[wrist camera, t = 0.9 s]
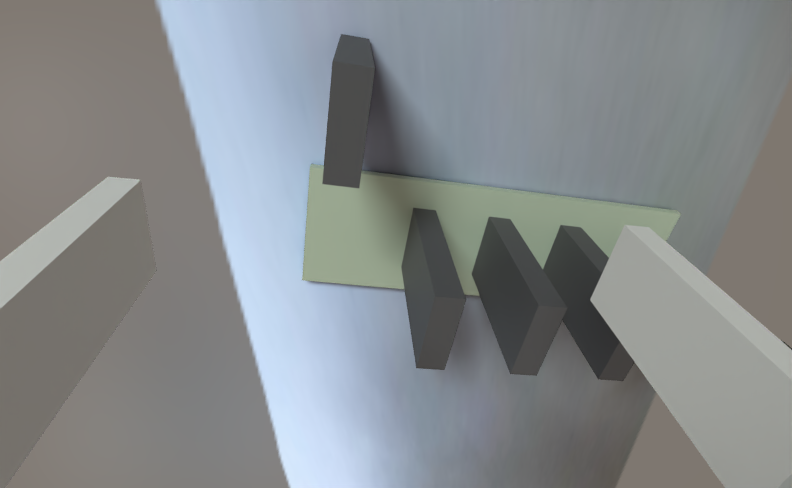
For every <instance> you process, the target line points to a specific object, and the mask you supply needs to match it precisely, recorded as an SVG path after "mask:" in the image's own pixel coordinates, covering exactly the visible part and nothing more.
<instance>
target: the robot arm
mask: <svg viewBox="0 0 792 488" xmlns="http://www.w3.org/2000/svg"><path fill="white" fill-rule="evenodd" d="M156 271H157V269H156V263H155V258H154V252H153V247H152V241H151V235H150V229H149V224H148V217H147V213H146V206H145V200H144V195H143V189H142V183H141V180H137V179H126V178H116V177H107V178H106V179H105V180H103V181H102V182H101V183H99V184H98V185H97V186H96V187H94V188H93V189H92V190H91V191H89V192H88V193H87V194H85V195H84V196H83V197H82V198H80V199H79V200H78V201H77V202H75V203H74V204H73V205H71V206H70V207H69V208H68V209H66V210H65V211H64V212H62V213H61V214H60V215H59V216H57V217H56V218H55V219H54V220H52V221H51V222H50V223H48V224H47V225H46V226H45V227H43V228H42V229H41V230H39V231H38V232H37V233H36V234H34V235H33V236H32V237H31V238H29V239H28V240H27V241H25V243H23V244H22V245H20V246H19V247H18V248H17V249H15V250H14V251H13V252H12V253H10V254H9V255H8V256H6V257H5V258H4V259H3V260H2V261H0V488H5V487H6V486H7V485H8V483H9V482H10V480H11V479H12V477H13V476H14V475H15V473H16V472H17V470H18V469H19V467H20V466H21V464H22V463H23V462H24V460H25V459H26V457H27V456H28V454H29V453H30V451H31V450H32V449H33V447H34V446H35V444H36V443H37V441H38V440H39V439H40V437H41V436H42V434H43V433H44V431H45V430H46V429H47V427H48V426H49V424H50V423H51V421H52V420H53V419H54V417H55V416H56V414H57V413H58V411H59V410H60V409H61V407H62V406H63V404H64V403H65V401H66V400H67V399H68V397H69V396H70V394H71V393H72V391H73V390H74V388H75V387H76V386H77V384H78V383H79V381H80V380H81V378H82V377H83V376H84V374H85V373H86V371H87V370H88V368H89V367H90V365H91V364H92V363H93V361H94V360H95V358H96V357H97V355H98V354H99V353H100V351H101V350H102V348H103V347H104V345H105V344H106V343H107V341H108V340H109V338H110V337H111V335H112V334H113V333H114V331H115V330H116V328H117V327H118V325H119V324H120V323H121V321H122V320H123V318H124V317H125V315H126V314H127V312H128V311H129V310H130V308H131V307H132V305H133V304H134V302H135V301H136V300H137V298H138V297H139V295H140V294H141V292H142V291H143V289H144V288H145V287H146V285H147V284H148V282H149V281H150V279H151V278H152V277H153V275H154V274H155V272H156ZM590 300H591V302H592V303H593V305H594V306H595V307H596V309H597V310H598V312H599V313H600V314H601V316H602V317H603V319H604V320H605V321H606V323H607V324H608V326H609V327H610V328H611V330H612V331H613V333H614V334H615V335H616V337H617V338H618V339H619V341H620V342H621V344H622V345H623V346H624V348H625V349H626V351H627V352H628V353H629V355H630V356H631V358H632V359H633V360H634V362H635V363H636V365H637V366H638V367H639V369H640V370H641V372H642V373H643V374H644V376H645V377H646V378H647V380H648V381H649V383H650V384H651V385H652V387H653V388H654V390H655V391H656V392H657V394H658V395H659V397H660V398H661V399H662V400H663V402H664V404H665V405H666V406H667V408H668V409H669V410H670V412H671V413H672V415H673V416H674V417H675V419H676V420H677V422H678V423H679V424H680V426H681V427H682V429H683V430H684V431H685V433H686V434H687V435H688V437H689V438H690V440H691V441H692V443H693V444H694V445H695V447H696V448H697V450H698V451H699V452H700V454H701V455H702V457H703V458H704V459H705V461H706V462H707V463H708V465H709V466H710V468H711V469H712V470H713V472H714V473H715V475H716V476H717V477H718V479H719V480H720V482H721V483H722V484H723V486H724V487H725V488H792V348H790V347H789V346H788V345H787V344H786V343H785V342H783V341H782V340H780V339H779V338H777V337H776V336H775V335H774V334H773V333H771V332H770V331H769V330H768V329H767V328H766V327H765V326H763V325H762V324H761V323H760V322H759V321H758V320H756V319H755V318H754V317H753V316H752V315H750V314H749V313H748V312H747V311H746V310H744V308H742V307H741V306H740V305H739V304H738V303H737V302H735V301H734V300H733V299H732V298H731V297H730V296H728V295H727V294H726V293H725V292H724V291H722V290H721V289H720V288H719V287H718V286H717V285H716V284H714V283H713V282H712V281H711V280H710V279H709V278H708V277H706V276H705V275H704V274H703V273H702V272H701V271H699V270H698V269H697V268H696V267H695V266H694V265H692V264H691V263H690V262H689V261H688V260H687V259H685V258H684V257H683V256H682V255H681V254H680V253H678V252H677V251H676V250H675V249H674V248H673V247H671V246H670V245H669V244H668V243H667V242H666V241H664V240H663V239H662V238H661V237H660V236H659V235H657V234H656V233H655V232H654V231H653V230H652V229H650V228H649V227H643V226H632V225H624V227H623V229H622V231H621V234H620V236H619V238H618V240H617V242H616V245H615V247H614V249H613V251H612V253H611V255H610V258H609V260H608V262H607V264H606V266H605V268H604V271H603V273H602V275H601V277H600V279H599V281H598V284H597V286H596V288H595V290H594V292H593V294H592V297H591V299H590Z"/></svg>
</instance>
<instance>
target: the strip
mask: <svg viewBox="0 0 792 488" xmlns="http://www.w3.org/2000/svg"><path fill="white" fill-rule="evenodd" d="M323 170H324V166H323V165H315V164H311V165H310V175H309V190H308V204H307V219H306V234H305V248H304V263H303V278H302V280H305V281H317V282H328V283H339V284H351V285H362V286H373V287H384V288H396V289H404V282H403V276H402V269H401V266H402V261H403V256H404V251H405V246H406V241H407V237H408V232H409V227H410V222H411V217H412V212H413V208H421V209H429V210H436V212H437V215H438V218H439V221H440V224H441V227H442V230H443V233H444V236H445V239H446V242H447V245H448V248H449V250H450V253H451V256H452V259H453V262H454V265H455V268H456V271H457V274H458V277H459V280H460V283H461V286H462V289H463V292H464V294H465V295H475V296H480V295H479V292H478V289H477V287H476V284H475V282H474V279H473V277H472V271H473V267H474V264H475V261H476V258H477V254H478V251H479V248H480V244H481V241H482V238H483V235H484V231H485V228H486V225H487V221H488V218H489V217H498V218H506V219H511V221H512V223H513V224H514V226H515V227H516V229H517V230H518V232H519V233H520V235H521V236H522V238H523V240H524V241H525V243H526V244H527V246H528V247H529V249H530V250H531V252H532V254H533V255H534V257H535V258H536V260H537V261H538V263H539V264H540V266H541V268H542V269H543V268H544V265H545V263H546V260H547V258H548V255H549V253H550V250H551V248H552V245H553V243H554V240H555V238H556V235H557V233H558V230H559V228H560V225H566V226H574V227H581V228H582V229H583V230H584V231H585V232H586V233H587V234H588V236H589V237H590V238H591V239H592V240H593V241H594V242H595V243H596V244H597V245H598V247H599V248H600V249H601V250H602V251H603V252H604V253H605V254H606V255H607V256H608V257H609V258H610V255H611V253H612V251H613V249H614V247H615V245H616V242H617V240H618V238H619V236H620V234H621V231H622V229H623V227H624V225H632V226H643V227H649V228H650V229H652V230H653V231H654V232H655V233H656V234H657V235H659V236H660V237H661V238H662V239H663V240H664V241H667V239H668V237H669V235H670V233H671V232H672V230H673V228H674V226H675V224H676V223H677V221H678V219H679V217H680V215H681V214H680V213H679V212H677V211H676V210H668V209H660V208H653V207H645V206H637V205H629V204H621V203H613V202H605V201H598V200H590V199H582V198H574V197H566V196H558V195H551V194H543V193H535V192H527V191H519V190H511V189H504V188H496V187H488V186H480V185H472V184H464V183H456V182H449V181H441V180H433V179H425V178H417V177H409V176H402V175H394V174H386V173H378V172H370V171H362V172H361V179H360V187H359V188H351V187H342V186H334V185H326V184H322V182H323Z"/></svg>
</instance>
